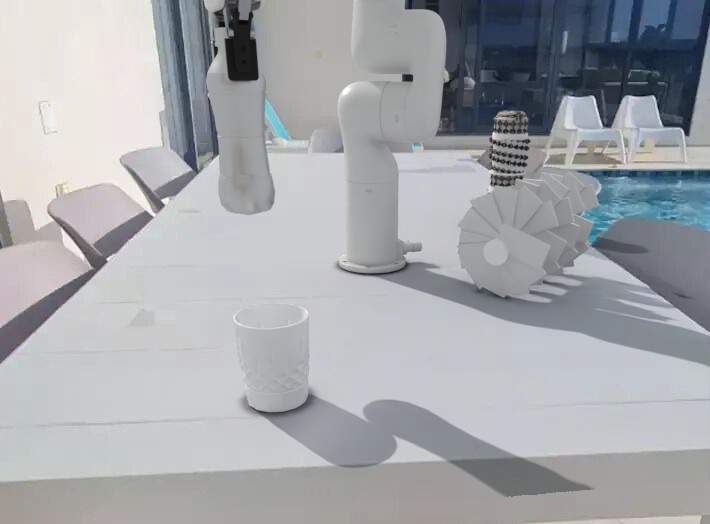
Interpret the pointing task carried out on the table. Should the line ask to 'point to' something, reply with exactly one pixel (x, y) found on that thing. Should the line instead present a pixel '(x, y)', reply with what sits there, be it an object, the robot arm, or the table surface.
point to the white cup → (274, 355)
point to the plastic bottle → (240, 137)
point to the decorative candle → (508, 148)
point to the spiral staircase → (525, 232)
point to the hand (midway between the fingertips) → (236, 78)
